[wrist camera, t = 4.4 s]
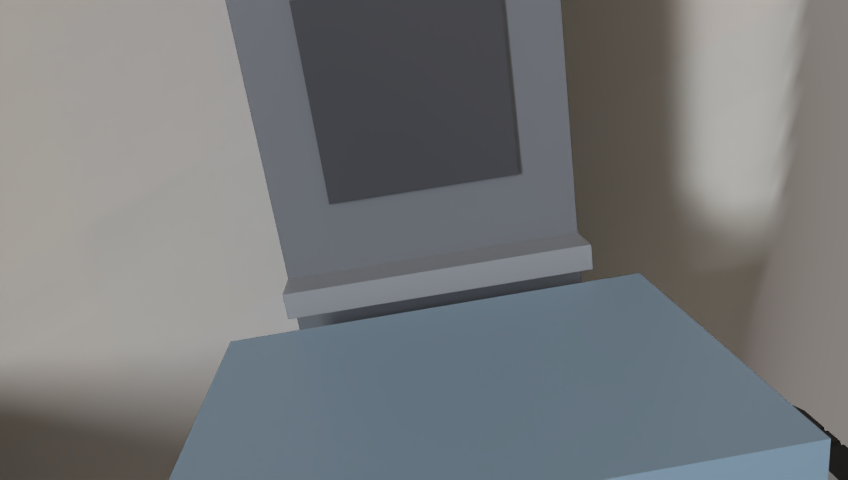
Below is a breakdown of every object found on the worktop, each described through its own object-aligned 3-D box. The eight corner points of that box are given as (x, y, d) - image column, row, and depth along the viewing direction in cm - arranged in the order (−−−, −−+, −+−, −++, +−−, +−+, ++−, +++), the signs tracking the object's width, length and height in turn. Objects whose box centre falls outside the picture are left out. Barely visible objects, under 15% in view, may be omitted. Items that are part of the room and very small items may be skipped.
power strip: (129, -599, 13) (-9, -966, 8) (459, -640, 13) (507, -1018, 9) (371, 542, 22) (371, 677, 17) (565, 508, 22) (617, 632, 18)
